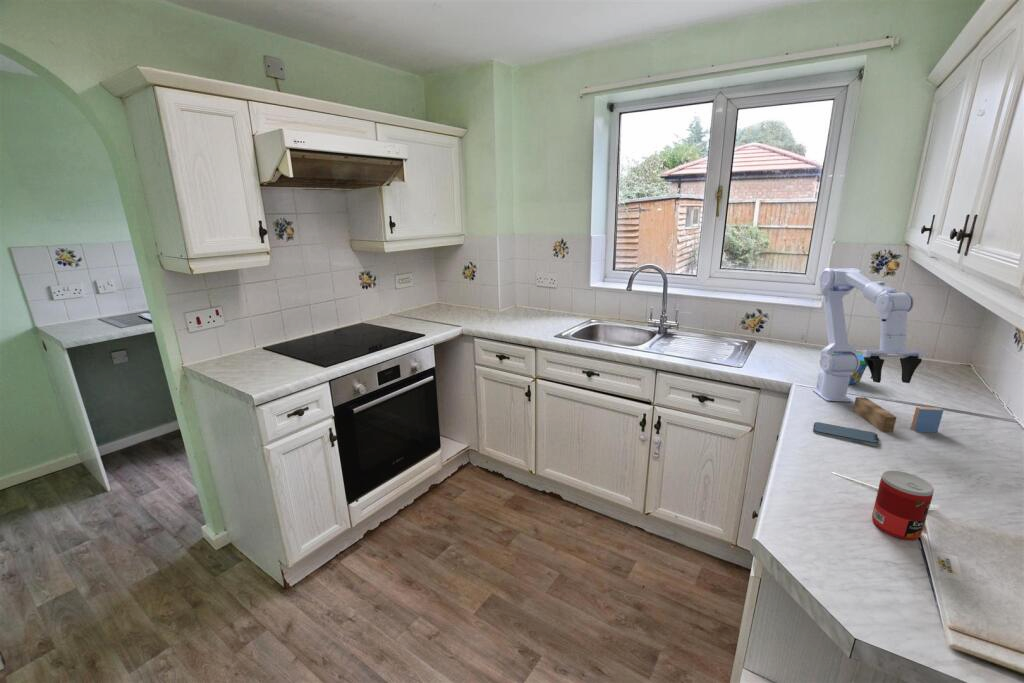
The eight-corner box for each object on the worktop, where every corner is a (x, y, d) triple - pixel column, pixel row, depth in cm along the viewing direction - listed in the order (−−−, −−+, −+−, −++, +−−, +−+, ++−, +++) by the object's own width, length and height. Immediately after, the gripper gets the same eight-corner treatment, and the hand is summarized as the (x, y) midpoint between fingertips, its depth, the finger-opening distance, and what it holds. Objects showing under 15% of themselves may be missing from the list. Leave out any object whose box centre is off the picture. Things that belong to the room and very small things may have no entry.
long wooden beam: (852, 411, 145) (855, 397, 144) (862, 411, 145) (866, 397, 143) (881, 432, 132) (885, 416, 130) (892, 432, 131) (896, 417, 130)
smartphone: (814, 420, 137) (877, 432, 129) (813, 425, 138) (876, 437, 129) (812, 430, 131) (878, 443, 123) (812, 435, 132) (877, 449, 123)
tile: (910, 428, 133) (916, 406, 131) (933, 429, 132) (939, 407, 130) (914, 431, 132) (920, 409, 130) (937, 432, 131) (943, 410, 129)
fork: (833, 472, 113) (834, 466, 113) (939, 511, 98) (941, 504, 97) (828, 477, 111) (829, 470, 111) (935, 517, 96) (937, 510, 95)
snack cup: (878, 385, 165) (884, 359, 162) (862, 391, 160) (868, 363, 157) (832, 372, 178) (837, 347, 175) (816, 377, 173) (821, 352, 170)
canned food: (914, 547, 87) (928, 498, 84) (864, 524, 94) (876, 478, 91) (925, 530, 92) (939, 483, 89) (878, 510, 98) (889, 465, 95)
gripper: (874, 335, 126) (872, 384, 127) (932, 335, 124) (930, 384, 125) (858, 334, 133) (856, 380, 134) (913, 334, 131) (911, 381, 132)
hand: (891, 382), depth 130 cm, fingers open, 7 cm apart
